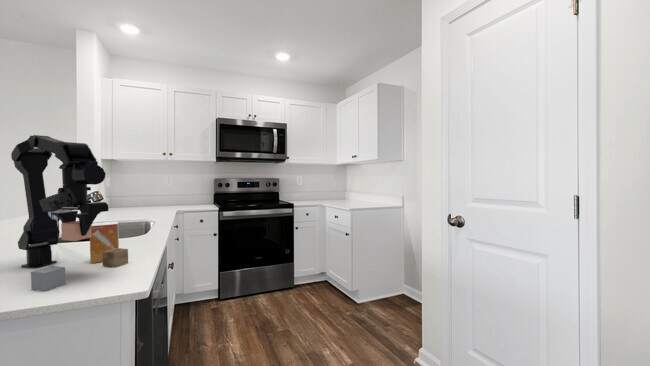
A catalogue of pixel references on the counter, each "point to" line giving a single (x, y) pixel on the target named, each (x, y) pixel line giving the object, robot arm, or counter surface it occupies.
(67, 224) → the terracotta cube
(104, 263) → the walnut cube
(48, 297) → the counter surface
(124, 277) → the counter surface
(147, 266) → the counter surface
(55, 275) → the slate cube
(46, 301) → the counter surface
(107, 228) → the small box
